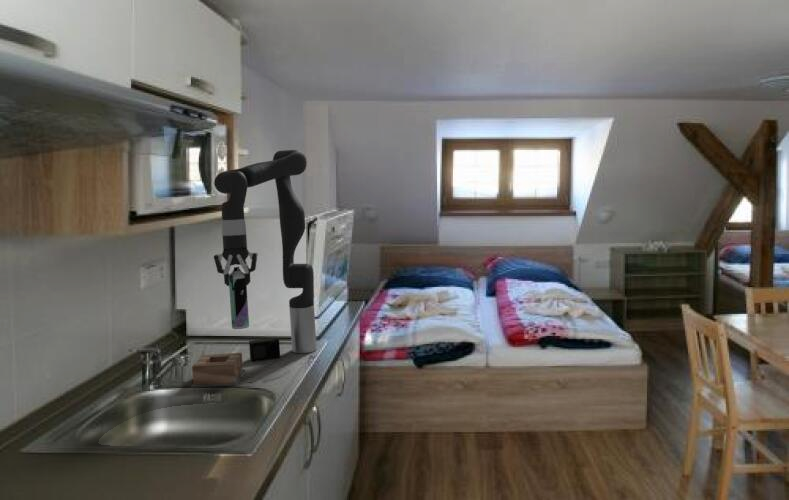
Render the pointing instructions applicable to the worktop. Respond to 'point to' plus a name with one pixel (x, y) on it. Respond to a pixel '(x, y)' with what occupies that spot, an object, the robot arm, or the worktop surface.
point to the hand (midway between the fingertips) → (237, 285)
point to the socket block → (218, 370)
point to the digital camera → (264, 349)
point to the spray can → (238, 299)
